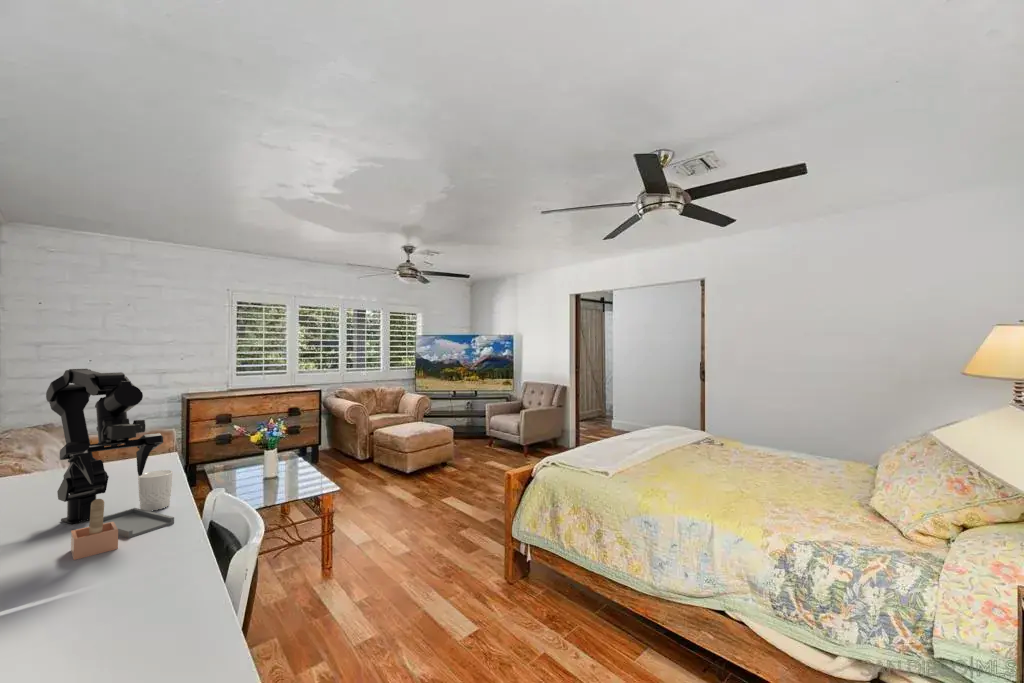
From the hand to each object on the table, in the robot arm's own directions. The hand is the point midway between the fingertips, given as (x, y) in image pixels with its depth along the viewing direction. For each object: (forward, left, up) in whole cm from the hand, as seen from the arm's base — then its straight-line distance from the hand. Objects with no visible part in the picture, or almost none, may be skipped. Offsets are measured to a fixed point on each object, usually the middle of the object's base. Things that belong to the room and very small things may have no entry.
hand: (117, 479), depth 108 cm
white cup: (-15, +16, -14) cm, 26 cm away
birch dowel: (+8, -7, -13) cm, 17 cm away
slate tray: (-4, +5, -14) cm, 16 cm away
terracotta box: (+5, -6, -14) cm, 16 cm away
